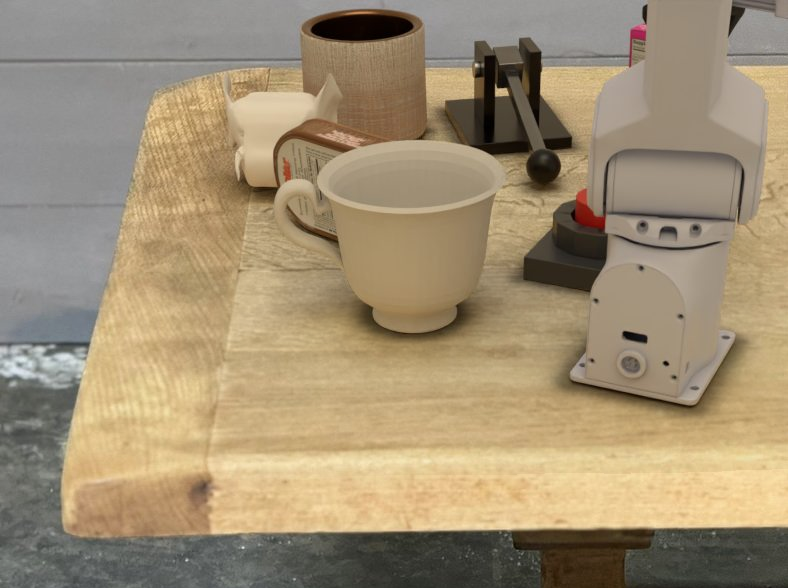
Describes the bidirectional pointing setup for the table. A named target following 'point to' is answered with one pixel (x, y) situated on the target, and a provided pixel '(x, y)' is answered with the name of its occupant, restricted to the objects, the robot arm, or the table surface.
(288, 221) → the teacup
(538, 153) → the lever
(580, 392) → the table surface
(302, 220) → the tin
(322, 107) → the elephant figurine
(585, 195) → the button
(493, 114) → the bracket
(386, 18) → the planter
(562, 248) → the button box
